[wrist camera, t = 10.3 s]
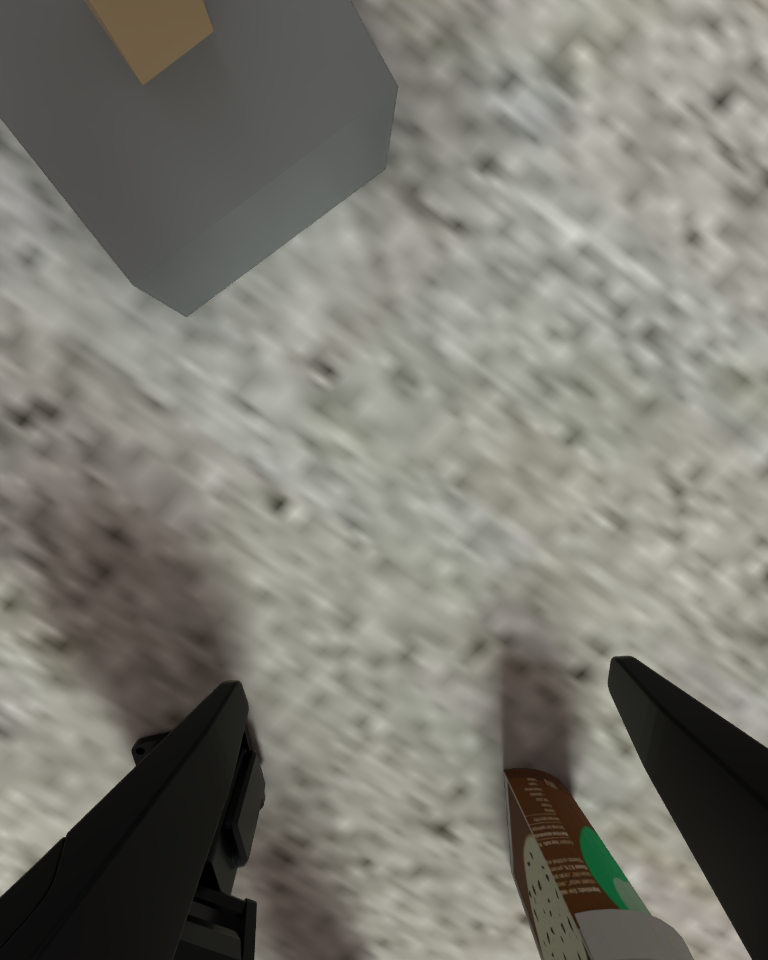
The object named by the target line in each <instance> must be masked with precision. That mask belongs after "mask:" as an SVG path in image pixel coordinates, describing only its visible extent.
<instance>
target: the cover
mask: <svg viewBox="0 0 768 960" xmlns="http://www.w3.org/2000/svg"><path fill="white" fill-rule="evenodd" d="M397 91H398V85H397V83H396V82H395V80H394V78H393V76H392V74H391V73H390V71H389V69H388V67H387V65H386V63H385V62H384V60H383V58H382V56H381V54H380V53H379V51H378V49H377V47H376V45H375V44H374V42H373V40H372V38H371V36H370V35H369V33H368V31H367V29H366V27H365V25H364V24H363V22H362V20H361V18H360V16H359V15H358V13H357V11H356V9H355V7H354V6H353V4H352V2H351V0H0V118H1V120H2V121H3V122H4V123H5V125H6V126H7V127H8V128H9V130H10V131H11V132H12V133H13V135H14V136H15V137H16V138H17V140H18V141H19V142H20V144H21V145H22V146H23V147H24V149H25V150H26V151H27V152H28V154H29V155H30V156H31V157H32V159H33V160H34V161H35V162H36V164H37V165H38V166H39V167H40V169H41V170H42V171H43V172H44V174H45V175H46V176H47V178H48V179H49V180H50V181H51V183H52V184H53V185H54V186H55V188H56V189H57V190H58V191H59V193H60V194H61V195H62V196H63V198H64V199H65V200H66V201H67V203H68V204H69V205H70V207H71V208H72V209H73V210H74V212H75V213H76V214H77V215H78V217H79V218H80V219H81V220H82V222H83V223H84V224H85V225H86V227H87V228H88V229H89V230H90V232H91V233H92V234H93V235H94V237H95V238H96V239H97V241H98V242H99V243H100V244H101V246H102V247H103V248H104V249H105V251H106V252H107V253H108V254H109V256H110V257H111V258H112V259H113V261H114V262H115V263H116V264H117V266H118V267H119V268H120V269H121V271H122V272H123V273H124V275H125V276H126V277H127V278H128V280H129V281H130V282H131V283H132V285H133V286H135V287H137V288H139V289H140V290H142V291H144V292H145V293H147V294H149V295H150V296H152V297H154V298H155V299H157V300H159V301H160V302H162V303H164V304H165V305H167V306H169V307H170V308H172V309H174V310H175V311H177V312H179V313H180V314H182V315H184V316H185V317H187V316H188V315H189V314H191V313H192V312H194V311H195V310H196V309H198V308H199V307H200V306H202V305H203V304H204V303H206V302H207V301H208V300H210V299H211V298H212V297H214V296H215V295H216V294H218V293H219V292H220V291H222V290H223V289H224V288H226V287H227V286H229V285H230V284H231V283H233V282H234V281H235V280H237V279H238V278H239V277H241V276H242V275H243V274H245V273H246V272H247V271H249V270H250V269H251V268H253V267H254V266H255V265H257V264H258V263H259V262H261V261H262V260H264V259H265V258H266V257H268V256H269V255H270V254H272V253H273V252H274V251H276V250H277V249H278V248H280V247H281V246H282V245H284V244H285V243H286V242H288V241H289V240H290V239H292V238H293V237H294V236H296V235H297V234H299V233H300V232H301V231H303V230H304V229H305V228H307V227H308V226H309V225H311V224H312V223H313V222H315V221H316V220H317V219H319V218H320V217H321V216H323V215H324V214H325V213H327V212H328V211H330V210H331V209H332V208H334V207H335V206H336V205H338V204H339V203H340V202H342V201H343V200H344V199H346V198H347V197H348V196H350V195H351V194H352V193H354V192H355V191H356V190H358V189H359V188H360V187H362V186H363V185H365V184H366V183H367V182H369V181H370V180H371V179H373V178H374V177H375V176H377V175H378V174H379V173H381V172H382V171H383V170H385V169H386V162H387V156H388V149H389V143H390V136H391V130H392V123H393V117H394V110H395V104H396V97H397Z"/></svg>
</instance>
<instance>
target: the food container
mask: <svg viewBox="0 0 768 960" xmlns="http://www.w3.org/2000/svg"><path fill="white" fill-rule="evenodd" d="M503 771H504V784H505V796H506V809H507V822H508V834H509V847H510V860H511V872H512V875H513V878H514V881H515V884H516V887H517V890H518V893H519V896H520V899H521V902H522V905H523V908H524V911H525V913H526V916H527V919H528V922H529V925H530V928H531V931H532V934H533V937H534V940H535V943H536V946H537V949H538V952H539V955H540V958H541V960H694V959H693V957H692V955H691V953H690V951H689V949H688V947H687V945H686V943H685V942H684V940H683V938H682V937H681V936H680V935H679V934H678V933H677V931H676V930H675V929H674V928H673V927H671V926H670V925H668V924H667V923H665V922H664V921H662V920H661V919H658V918H656V917H653V916H652V915H651V914H650V912H649V911H648V909H647V908H646V906H645V905H644V903H643V902H642V900H641V899H640V897H639V896H638V894H637V893H636V891H635V890H634V888H633V887H632V885H631V884H630V882H629V881H628V879H627V878H626V876H625V875H624V873H623V872H622V870H621V869H620V867H619V866H618V864H617V863H616V861H615V860H614V858H613V857H612V855H611V854H610V852H609V851H608V849H607V848H606V846H605V845H604V843H603V842H602V840H601V839H600V837H599V836H598V834H597V833H596V831H595V830H594V828H593V827H592V825H591V824H590V822H589V821H588V819H587V818H586V816H585V815H584V814H583V812H582V811H581V809H580V808H579V806H578V805H577V803H576V802H575V800H574V799H573V797H572V796H571V794H570V793H569V791H568V790H567V788H566V787H565V786H564V784H563V783H562V782H561V781H560V780H558V779H557V778H555V777H554V776H552V775H550V774H548V773H546V772H543V771H539V770H536V769H527V768H515V769H509V770H503Z"/></svg>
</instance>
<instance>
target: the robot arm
mask: <svg viewBox="0 0 768 960" xmlns="http://www.w3.org/2000/svg"><path fill="white" fill-rule="evenodd" d="M608 688H609V691H610V694H611V696H612V698H613V701H614V703H615V705H616V707H617V709H618V712H619V714H620V716H621V718H622V720H623V723H624V725H625V727H626V729H627V731H628V734H629V736H630V738H631V740H632V742H633V744H634V747H635V749H636V751H637V753H638V755H639V758H640V760H641V762H642V764H643V766H644V768H645V770H646V772H647V773H648V775H649V777H650V779H651V781H652V783H653V784H654V786H655V788H656V790H657V792H658V793H659V795H660V797H661V799H662V800H663V802H664V804H665V806H666V807H667V809H668V811H669V813H670V815H671V816H672V818H673V820H674V822H675V823H676V825H677V827H678V829H679V831H680V832H681V834H682V836H683V838H684V839H685V841H686V843H687V845H688V847H689V848H690V850H691V852H692V854H693V855H694V857H695V859H696V861H697V863H698V864H699V866H700V868H701V870H702V871H703V873H704V875H705V877H706V879H707V880H708V882H709V884H710V886H711V887H712V889H713V891H714V893H715V895H716V896H717V898H718V900H719V902H720V903H721V905H722V907H723V909H724V911H725V912H726V914H727V916H728V918H729V919H730V921H731V923H732V925H733V927H734V928H735V930H736V932H737V934H738V935H739V937H740V939H741V941H742V943H743V944H744V946H745V948H746V950H747V951H748V953H749V955H750V957H751V958H752V960H768V748H767V747H765V746H764V745H762V744H761V743H759V742H758V741H756V740H755V739H753V738H752V737H750V736H749V735H748V734H746V733H745V732H743V731H742V730H740V729H739V728H737V727H736V726H734V725H733V724H731V723H730V722H728V721H727V720H725V719H724V718H723V717H721V716H720V715H718V714H717V713H715V712H714V711H712V710H711V709H709V708H708V707H706V706H705V705H703V704H702V703H700V702H699V701H697V700H696V699H695V698H693V697H692V696H690V695H689V694H687V693H686V692H684V691H683V690H681V689H680V688H678V687H677V686H675V685H674V684H672V683H671V682H669V681H668V680H667V679H665V678H664V677H662V676H661V675H659V674H658V673H656V672H655V671H653V670H652V669H650V668H649V667H647V666H646V665H644V664H643V663H642V662H640V661H639V660H637V659H636V658H634V657H632V656H615V657H613V658H612V659H611V662H610V669H609V676H608ZM248 710H249V706H248V701H247V698H246V695H245V692H244V689H243V686H242V683H241V682H240V681H237V680H236V681H225V682H223V683H221V684H220V685H219V686H218V687H217V688H216V689H215V690H214V691H213V692H212V693H211V694H209V695H208V696H207V697H206V698H205V699H204V700H203V701H202V702H201V703H200V704H199V705H198V706H197V707H196V708H195V709H194V710H193V711H192V712H191V713H190V714H189V715H188V716H187V717H186V718H185V719H184V720H183V721H182V722H181V723H180V724H179V725H178V726H177V727H176V728H175V729H174V730H173V731H172V732H169V733H164V734H159V735H154V736H150V737H145V738H141V739H139V740H137V741H136V743H135V745H134V746H133V748H132V750H131V751H132V755H133V758H134V761H135V764H136V767H135V768H134V769H133V770H131V771H130V772H129V773H128V774H127V775H126V776H125V777H124V778H123V779H122V780H121V781H120V782H119V783H118V784H117V785H116V786H115V787H114V788H113V789H112V790H111V791H110V792H109V793H108V794H107V795H106V796H105V797H104V798H103V799H102V800H101V801H100V802H99V803H98V804H97V805H96V806H95V807H94V808H92V809H91V810H90V811H89V812H88V813H87V814H86V815H85V816H84V817H83V818H82V819H81V820H80V821H79V822H78V823H77V824H76V825H75V826H74V827H73V828H72V829H71V830H70V831H69V832H68V833H67V835H66V837H63V838H62V839H60V840H59V841H58V842H57V843H56V844H55V845H54V846H53V847H52V848H51V849H50V850H49V851H48V852H47V853H46V854H45V855H44V856H43V857H42V858H41V859H40V860H39V861H38V862H37V863H36V864H35V865H34V866H33V867H32V868H30V869H29V870H28V871H27V872H26V873H25V874H24V875H23V876H22V877H21V878H20V879H19V880H18V881H17V882H16V883H15V884H14V885H13V886H12V887H10V888H9V889H8V890H7V891H6V892H5V893H4V894H3V895H2V896H1V897H0V960H254V953H255V931H256V909H257V902H255V901H253V900H250V899H247V898H246V899H245V900H242V899H239V898H237V897H234V896H231V892H232V888H233V884H234V880H235V876H236V872H237V868H239V867H243V866H245V864H246V863H247V861H248V859H249V855H250V851H251V846H252V842H253V837H254V833H255V828H256V824H257V819H258V815H259V810H260V809H261V808H262V807H263V805H264V801H265V793H264V788H265V781H264V777H263V774H262V770H261V766H260V762H259V758H258V754H257V753H256V751H255V750H253V748H252V744H251V741H250V737H249V733H248V729H247V725H246V720H247V716H248ZM143 748H144V749H143Z"/></svg>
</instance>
